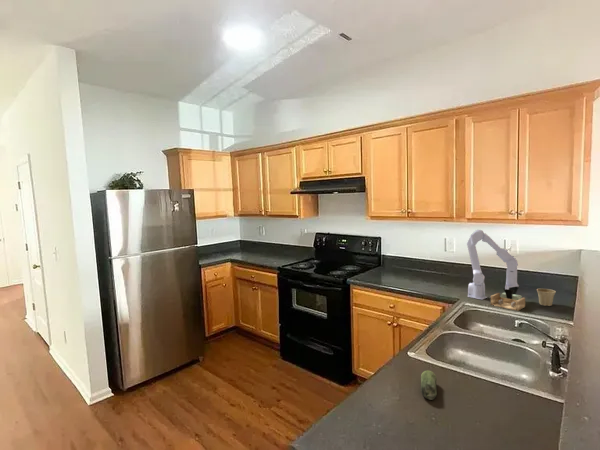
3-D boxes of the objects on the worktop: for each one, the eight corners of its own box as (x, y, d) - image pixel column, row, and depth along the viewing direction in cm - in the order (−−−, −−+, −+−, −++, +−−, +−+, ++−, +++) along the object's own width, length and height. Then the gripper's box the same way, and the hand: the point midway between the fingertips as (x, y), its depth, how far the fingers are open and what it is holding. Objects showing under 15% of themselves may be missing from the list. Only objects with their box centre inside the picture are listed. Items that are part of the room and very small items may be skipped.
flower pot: (536, 301, 212) (537, 287, 211) (555, 303, 206) (556, 289, 205) (535, 305, 204) (535, 290, 204) (554, 308, 198) (555, 293, 198)
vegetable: (421, 380, 124) (421, 366, 123) (436, 382, 122) (436, 369, 122) (420, 401, 111) (420, 386, 110) (437, 404, 109) (437, 389, 109)
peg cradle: (490, 304, 206) (490, 296, 206) (497, 301, 213) (498, 292, 213) (518, 310, 195) (518, 301, 194) (525, 306, 201) (525, 297, 201)
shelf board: (500, 300, 215) (500, 293, 214) (503, 298, 218) (503, 292, 217) (518, 303, 207) (518, 297, 207) (521, 302, 210) (521, 295, 210)
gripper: (514, 280, 203) (513, 302, 205) (523, 276, 213) (522, 297, 214) (501, 278, 209) (500, 300, 210) (510, 274, 218) (510, 295, 219)
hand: (510, 298), depth 212 cm, fingers closed on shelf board, 5 cm apart
